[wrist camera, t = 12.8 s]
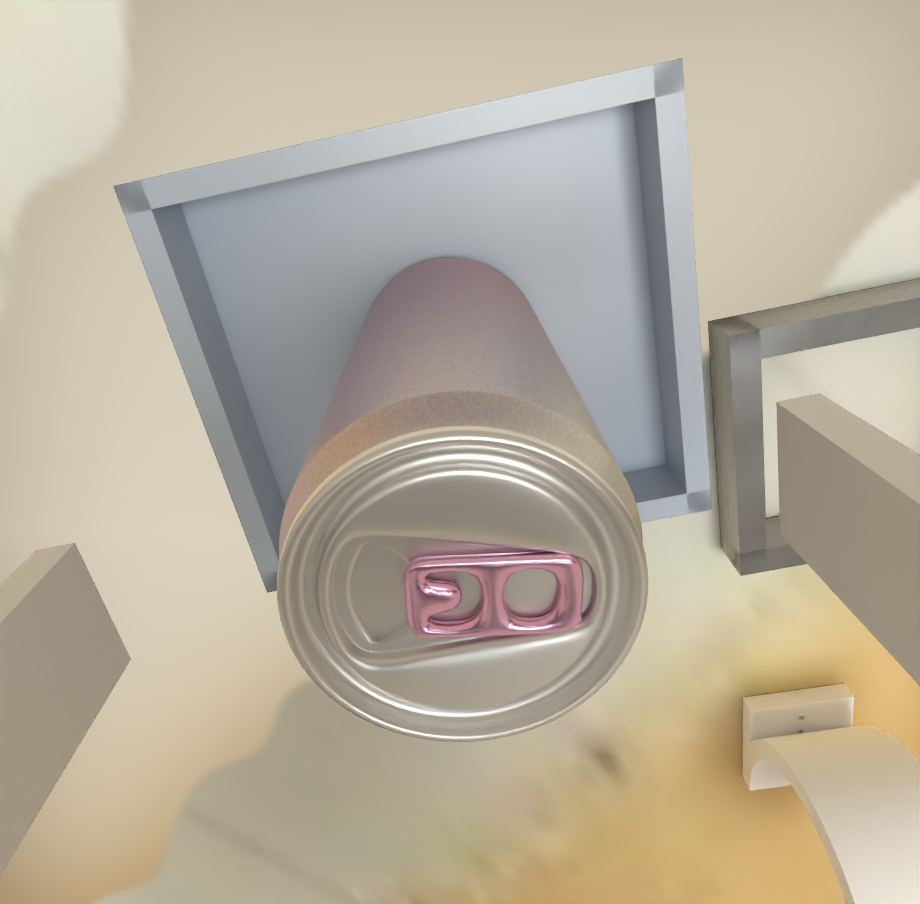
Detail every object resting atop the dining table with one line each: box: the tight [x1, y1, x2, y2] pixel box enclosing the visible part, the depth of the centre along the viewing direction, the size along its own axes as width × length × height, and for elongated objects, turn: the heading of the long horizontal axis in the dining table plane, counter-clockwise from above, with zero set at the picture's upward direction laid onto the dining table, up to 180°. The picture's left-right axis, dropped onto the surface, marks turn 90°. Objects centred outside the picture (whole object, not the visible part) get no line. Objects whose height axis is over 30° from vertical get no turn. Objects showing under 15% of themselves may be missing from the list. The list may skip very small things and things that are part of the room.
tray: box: [114, 58, 711, 592], centre depth 23 cm, size 16×14×3 cm
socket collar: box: [708, 279, 920, 576], centre depth 25 cm, size 10×10×2 cm
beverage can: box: [277, 257, 648, 742], centre depth 17 cm, size 6×6×15 cm
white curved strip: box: [743, 683, 920, 904], centre depth 27 cm, size 5×6×12 cm
